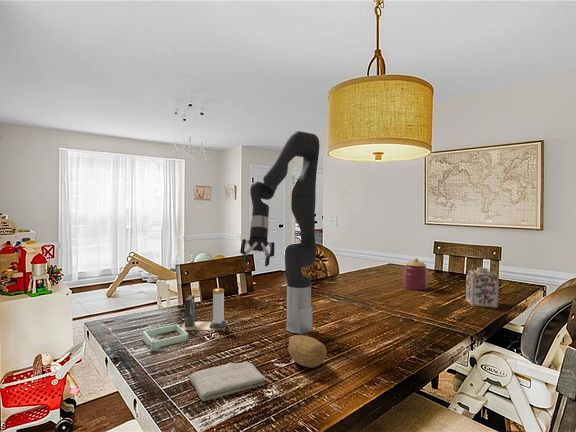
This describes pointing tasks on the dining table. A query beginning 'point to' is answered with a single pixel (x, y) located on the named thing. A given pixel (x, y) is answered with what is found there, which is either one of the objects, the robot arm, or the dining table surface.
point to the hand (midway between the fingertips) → (256, 265)
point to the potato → (307, 351)
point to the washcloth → (225, 380)
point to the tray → (156, 345)
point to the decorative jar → (482, 288)
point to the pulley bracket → (190, 318)
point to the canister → (415, 275)
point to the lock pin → (218, 306)
